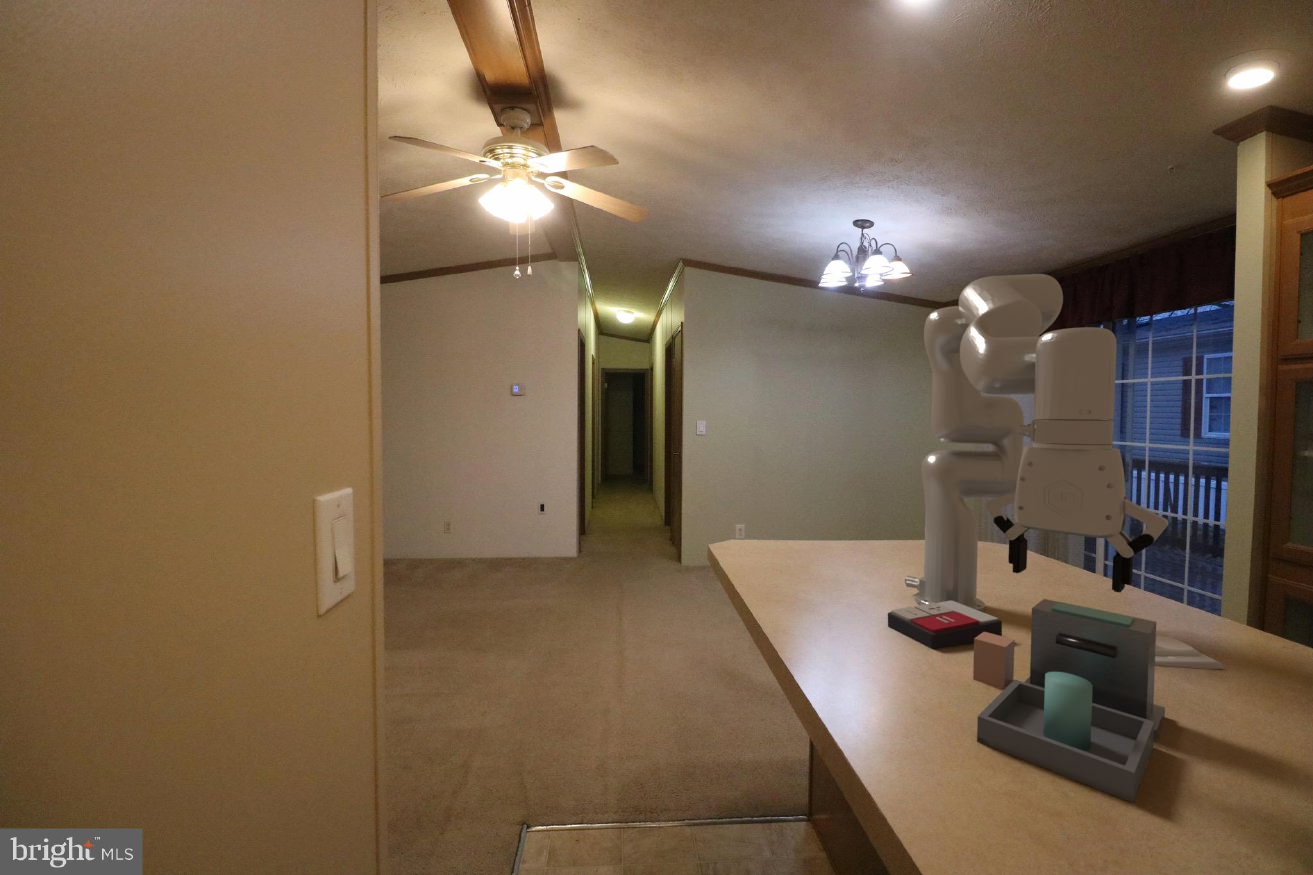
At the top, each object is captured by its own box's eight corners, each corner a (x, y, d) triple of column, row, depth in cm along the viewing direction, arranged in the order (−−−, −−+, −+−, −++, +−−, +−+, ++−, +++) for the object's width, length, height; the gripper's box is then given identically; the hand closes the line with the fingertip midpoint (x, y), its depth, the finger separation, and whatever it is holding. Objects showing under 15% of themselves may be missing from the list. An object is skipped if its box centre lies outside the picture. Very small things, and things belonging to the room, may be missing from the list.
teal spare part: (1038, 738, 65) (1040, 679, 64) (1049, 725, 68) (1050, 668, 67) (1085, 755, 61) (1087, 693, 61) (1094, 740, 64) (1096, 681, 64)
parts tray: (976, 741, 65) (977, 716, 65) (1014, 701, 75) (1014, 679, 74) (1133, 802, 55) (1134, 772, 55) (1153, 747, 64) (1154, 721, 64)
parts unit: (1018, 696, 76) (1020, 605, 75) (1035, 678, 81) (1037, 593, 81) (1155, 741, 65) (1159, 635, 65) (1164, 716, 71) (1168, 619, 70)
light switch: (1086, 621, 97) (1169, 621, 95) (1087, 644, 97) (1170, 645, 95) (1128, 645, 87) (1223, 646, 84) (1129, 672, 87) (1224, 673, 85)
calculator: (886, 608, 102) (951, 596, 106) (886, 631, 102) (951, 619, 106) (932, 630, 91) (1003, 616, 96) (933, 655, 91) (1003, 640, 96)
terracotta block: (973, 679, 81) (974, 638, 81) (982, 671, 84) (984, 631, 83) (1004, 689, 78) (1005, 646, 78) (1013, 680, 81) (1014, 639, 80)
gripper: (979, 434, 69) (975, 570, 70) (1166, 439, 56) (1159, 606, 57) (999, 432, 74) (995, 560, 75) (1175, 437, 61) (1169, 590, 62)
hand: (1066, 579), depth 66 cm, fingers open, 9 cm apart
